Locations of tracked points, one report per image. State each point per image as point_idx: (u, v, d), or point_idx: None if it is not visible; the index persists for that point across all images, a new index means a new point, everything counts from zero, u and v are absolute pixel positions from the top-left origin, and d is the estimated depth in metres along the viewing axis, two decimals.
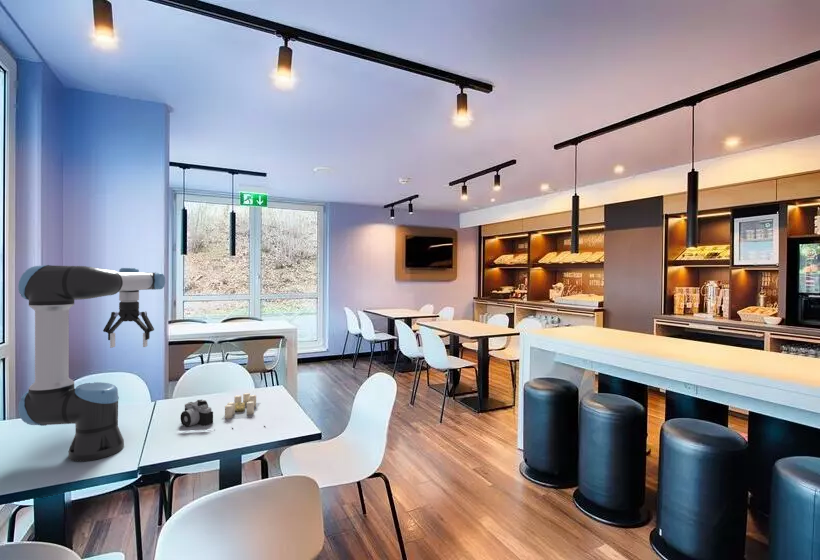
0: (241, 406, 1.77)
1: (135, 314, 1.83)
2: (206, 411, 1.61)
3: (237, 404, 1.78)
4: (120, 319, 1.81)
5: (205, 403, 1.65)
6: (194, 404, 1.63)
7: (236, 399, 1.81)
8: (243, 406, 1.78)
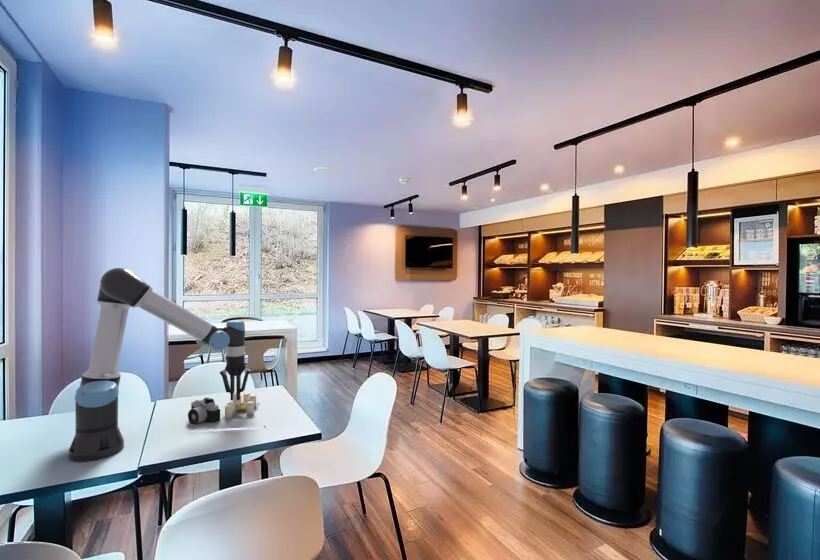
0: (243, 406, 1.77)
1: (241, 368, 1.77)
2: (213, 409, 1.64)
3: (239, 404, 1.78)
4: (231, 375, 1.76)
5: (212, 401, 1.68)
6: (201, 402, 1.65)
7: None
8: (245, 406, 1.78)
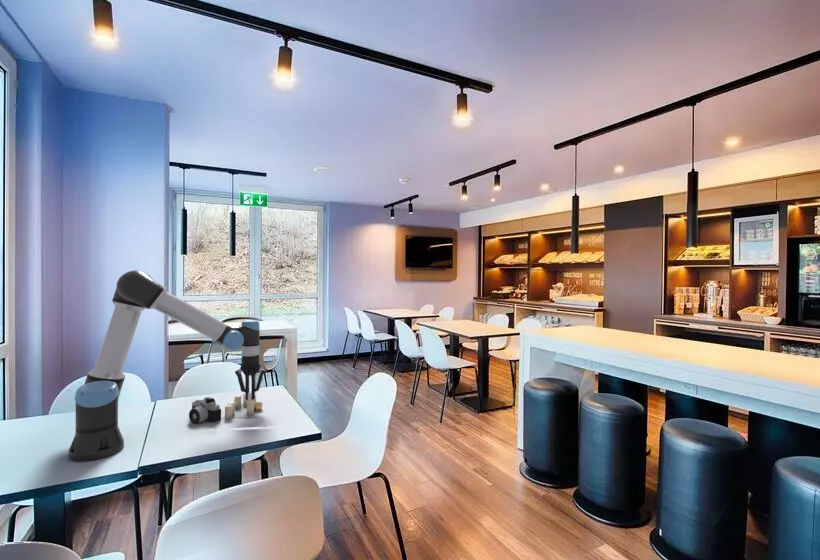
0: (258, 406, 1.78)
1: (256, 368, 1.78)
2: (215, 408, 1.64)
3: (255, 403, 1.79)
4: (246, 375, 1.77)
5: (213, 401, 1.69)
6: (202, 402, 1.66)
7: (236, 399, 1.81)
8: (260, 406, 1.79)
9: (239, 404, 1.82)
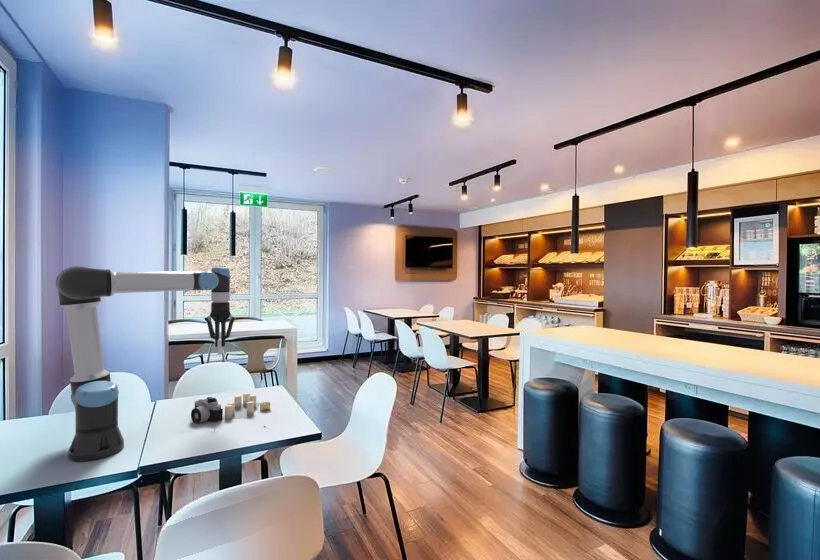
0: (266, 405, 1.79)
1: (226, 315, 1.78)
2: (216, 408, 1.64)
3: (262, 403, 1.79)
4: (216, 321, 1.76)
5: (215, 400, 1.69)
6: (204, 401, 1.66)
7: (236, 399, 1.81)
8: (268, 405, 1.79)
9: (239, 404, 1.82)
